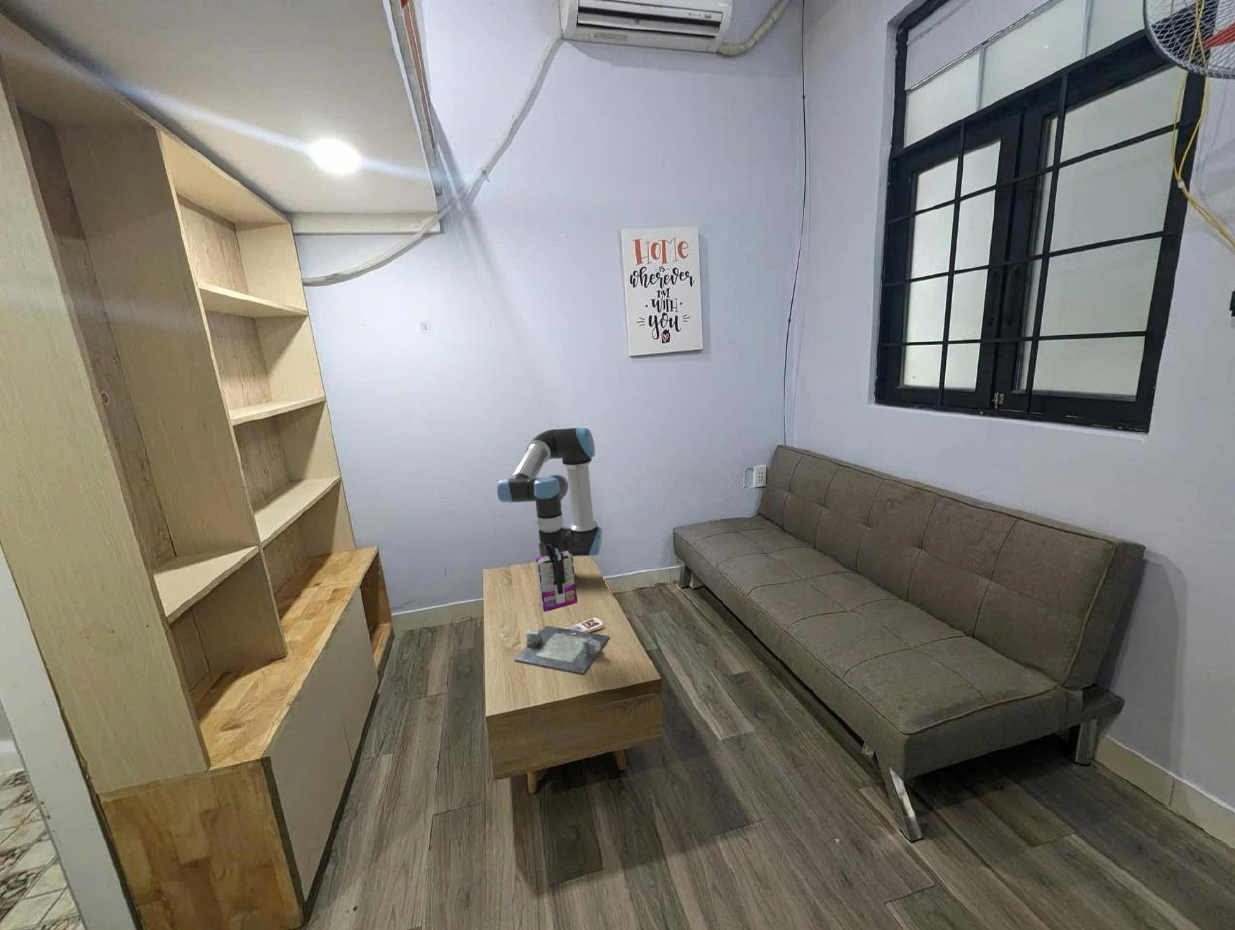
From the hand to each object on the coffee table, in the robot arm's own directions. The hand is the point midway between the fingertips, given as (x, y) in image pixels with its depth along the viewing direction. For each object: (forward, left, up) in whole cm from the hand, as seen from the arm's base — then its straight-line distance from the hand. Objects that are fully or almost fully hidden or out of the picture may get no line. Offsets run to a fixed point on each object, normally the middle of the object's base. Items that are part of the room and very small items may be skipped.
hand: (558, 598), depth 152 cm
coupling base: (0, 0, -18) cm, 18 cm away
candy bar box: (0, 0, -2) cm, 2 cm away
